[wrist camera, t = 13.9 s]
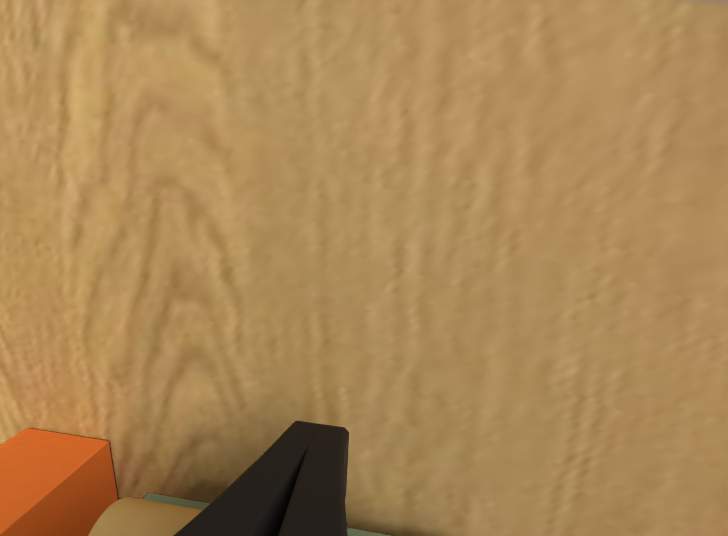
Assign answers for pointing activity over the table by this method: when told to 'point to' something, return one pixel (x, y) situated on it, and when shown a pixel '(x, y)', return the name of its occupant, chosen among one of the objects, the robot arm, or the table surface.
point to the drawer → (159, 517)
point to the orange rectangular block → (54, 484)
